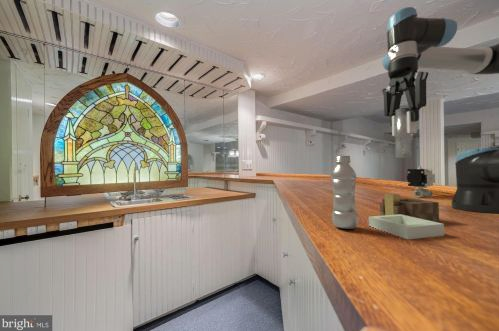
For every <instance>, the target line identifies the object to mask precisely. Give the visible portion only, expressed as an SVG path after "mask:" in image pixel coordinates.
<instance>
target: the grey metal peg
mask: <svg viewBox="0 0 499 331" xmlns="http://www.w3.org/2000/svg"><path fill="white" fill-rule="evenodd" d="M408 109H409V107H402V108H401V107H400V108H399V109H398V110H395V136H394V137H395V140H394V142H395V148H394V149H395V158H398V159H400V158H406V159H407V158H414V133H407V112H408V111H411V110H408Z"/></svg>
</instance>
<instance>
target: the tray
mask: <svg viewBox="0 0 499 331" xmlns="http://www.w3.org/2000/svg"><path fill="white" fill-rule="evenodd" d="M369 226H371V227H370V228H372V227H374V228H373V229H375V228H376V229H375V230H378V229H379V231H381V230H382V231H381V232H384V231H385V232H384V233H387V232H388V233H387V234H390V233H391V234H390V235H393V236H396V237H398V236H399V238H402V239H405V240H417V239H423V238H424V239H425V238H426V239H427V238H434V237H443V236H445V224H444V223H441V222H433V221H429V220H424V219H419V218H415V217H410V216H406V215H401V214H398V215H384V216H380V215H375V216H374V215H373V216H368V227H369Z"/></svg>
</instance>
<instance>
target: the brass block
mask: <svg viewBox="0 0 499 331" xmlns="http://www.w3.org/2000/svg"><path fill="white" fill-rule="evenodd" d="M383 195H384V197H383V198H384V199H385V215H394V208H393V206H400V198H401V197H400V193H393V192H390V193H387V192H386V193H384V194H383Z"/></svg>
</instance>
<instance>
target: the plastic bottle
mask: <svg viewBox="0 0 499 331" xmlns="http://www.w3.org/2000/svg"><path fill="white" fill-rule="evenodd" d="M351 161H352V160H351V156H350V155H338V156H337V155H336V156H335V161H334V163H335V164H336V165H335V166H334V167H333V169H332V170H331V172H330V179H331V185H332V186H331V188H332V194H333V201H332V202H333V204H332V212H331V221H332V224H333V225H334V227H336V228H339V229H344V230H350V229H351V230H354V229H356V228H357V226H358V225H359V224H358V222H359V217H358V213H357V209H356V208H357V207H356V200H355V198H356V197H355V194H356V189H355V188H356V182H357V180H356V179H357V174H356V172H355V170H354V169H353V166H351V164H350V163H351Z"/></svg>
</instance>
